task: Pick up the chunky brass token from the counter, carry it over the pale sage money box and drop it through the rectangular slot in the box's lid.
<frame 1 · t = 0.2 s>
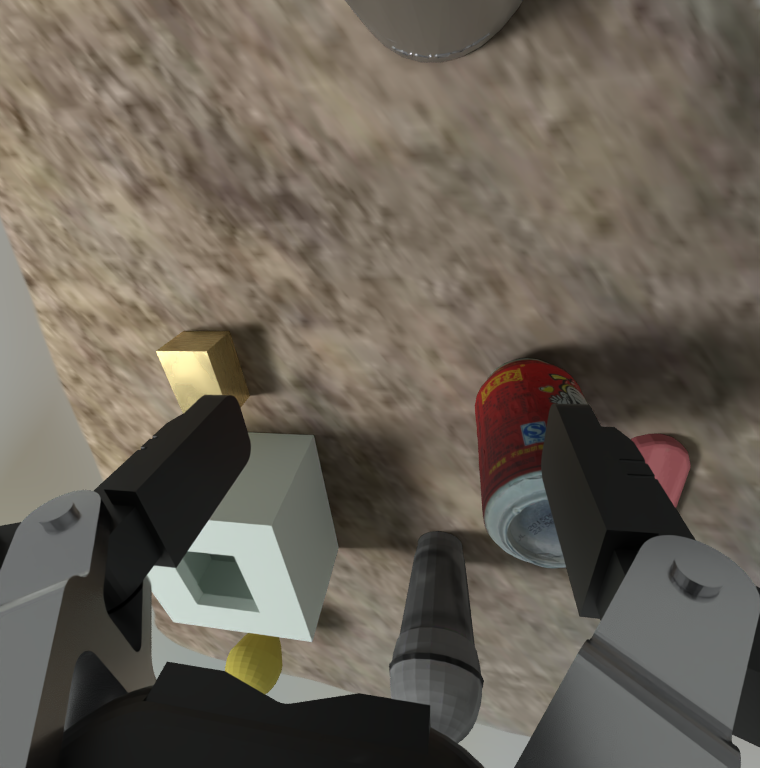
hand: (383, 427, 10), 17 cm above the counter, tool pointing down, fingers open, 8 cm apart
money box: (261, 492, 40), on the counter
light bulb: (276, 607, 53), on the counter
popsicle: (630, 497, 33), on the counter
beverage cup: (439, 543, 40), on the counter
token: (218, 363, 32), on the counter
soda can: (522, 390, 29), on the counter
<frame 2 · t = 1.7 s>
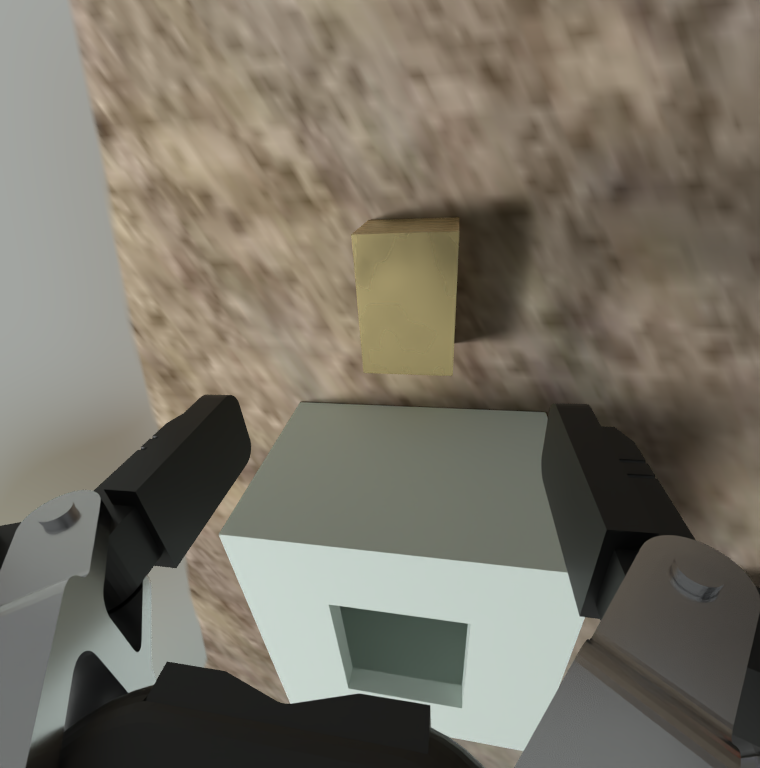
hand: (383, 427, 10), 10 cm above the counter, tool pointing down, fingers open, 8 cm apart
money box: (418, 504, 26), on the counter
beverage cup: (684, 586, 26), on the counter
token: (413, 284, 19), on the counter
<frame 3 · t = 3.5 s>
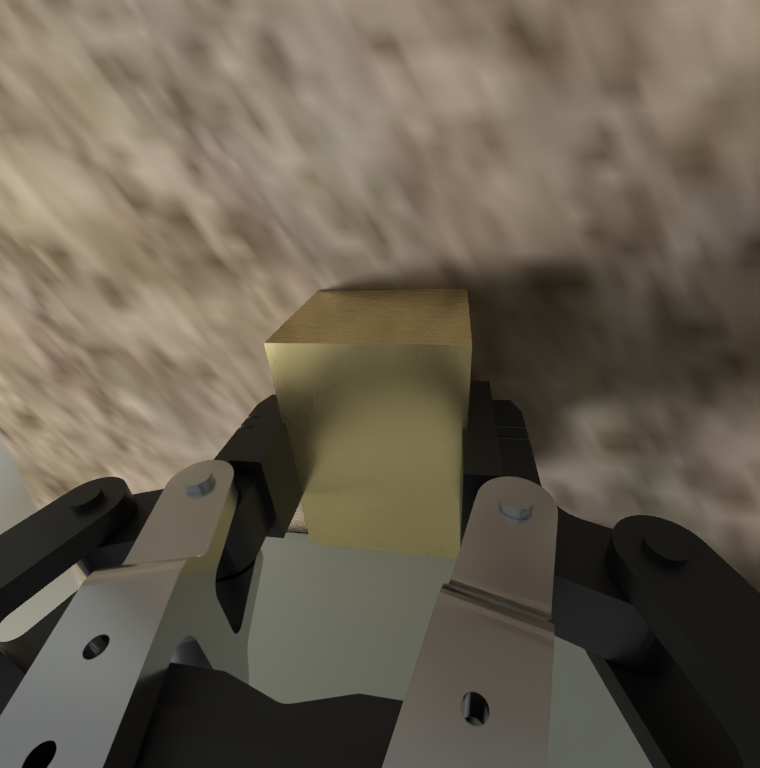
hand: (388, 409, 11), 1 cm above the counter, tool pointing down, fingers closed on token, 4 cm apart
money box: (412, 649, 19), on the counter
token: (394, 386, 12), on the counter, touching gripper
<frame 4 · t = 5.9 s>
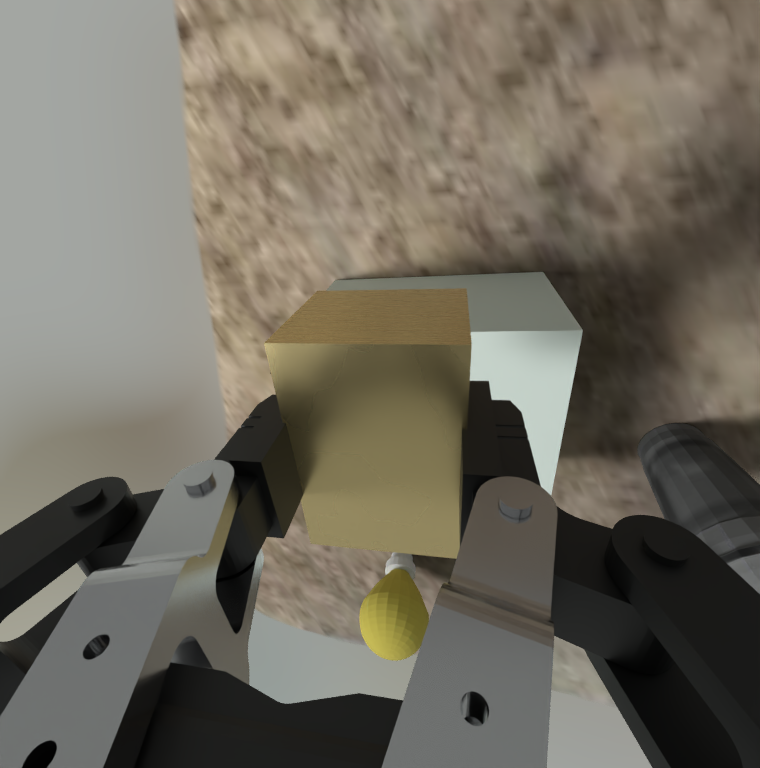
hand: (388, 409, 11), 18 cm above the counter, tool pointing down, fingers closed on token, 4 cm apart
money box: (435, 377, 30), on the counter
light bulb: (402, 554, 43), on the counter
beverage cup: (669, 444, 30), on the counter
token: (394, 387, 12), point 17 cm above the counter, touching gripper
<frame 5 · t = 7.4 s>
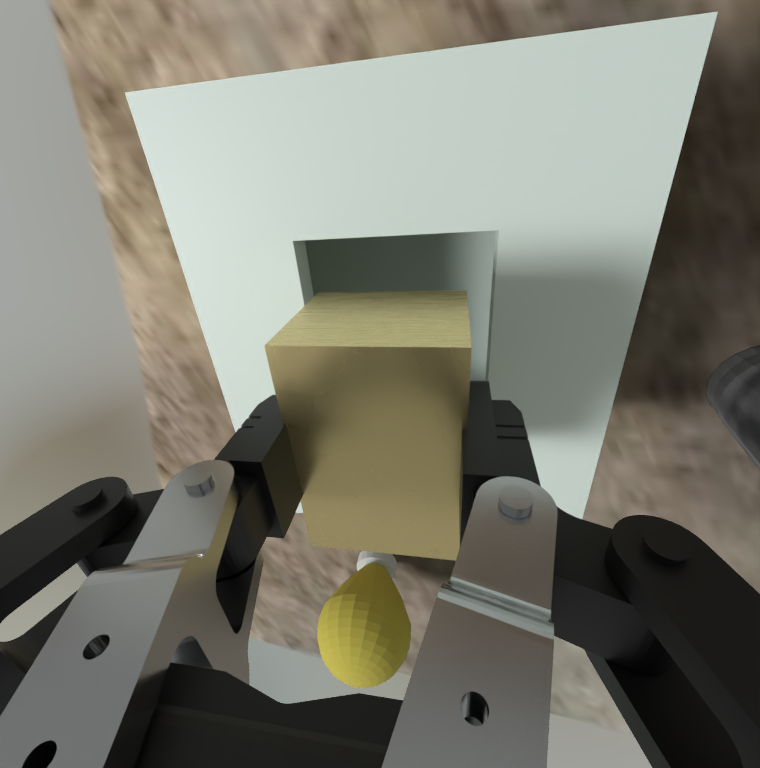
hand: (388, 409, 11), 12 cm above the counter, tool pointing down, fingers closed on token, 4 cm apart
money box: (419, 282, 21), on the counter
light bulb: (380, 546, 34), on the counter
beverage cup: (752, 380, 21), on the counter
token: (394, 388, 12), point 11 cm above the counter, touching gripper
when the fingers open (12 cm above the counter, at t = 8.6 s): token drops 7 cm, resting on money box.
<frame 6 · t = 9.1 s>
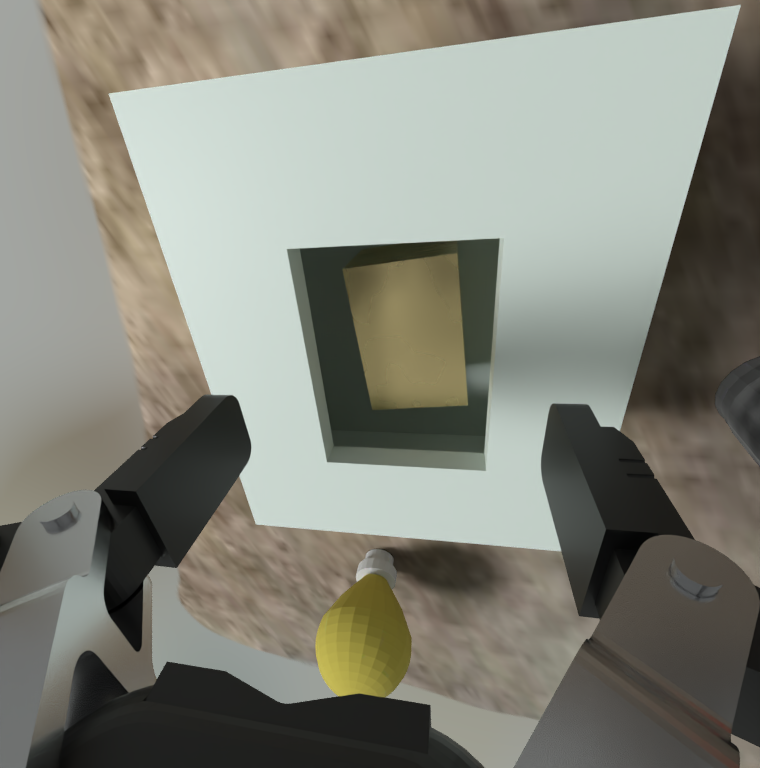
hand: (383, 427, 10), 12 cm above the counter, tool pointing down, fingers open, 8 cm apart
money box: (420, 288, 21), on the counter
light bulb: (380, 556, 33), on the counter
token: (417, 310, 18), point 3 cm above the counter, touching money box
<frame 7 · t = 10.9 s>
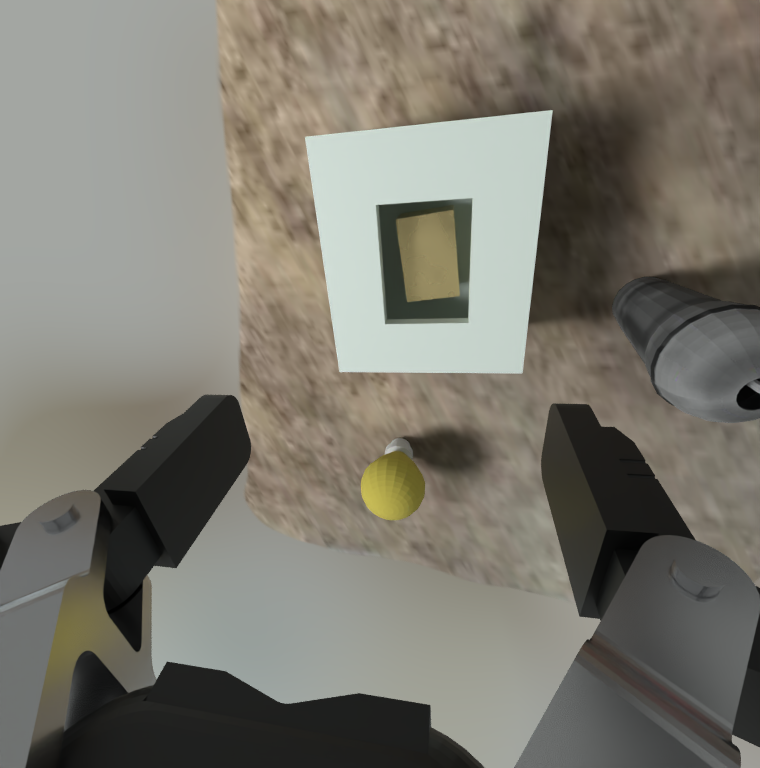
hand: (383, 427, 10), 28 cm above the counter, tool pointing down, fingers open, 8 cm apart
money box: (431, 241, 34), on the counter
light bulb: (400, 444, 46), on the counter
beverage cup: (639, 301, 34), on the counter
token: (431, 249, 31), point 3 cm above the counter, touching money box
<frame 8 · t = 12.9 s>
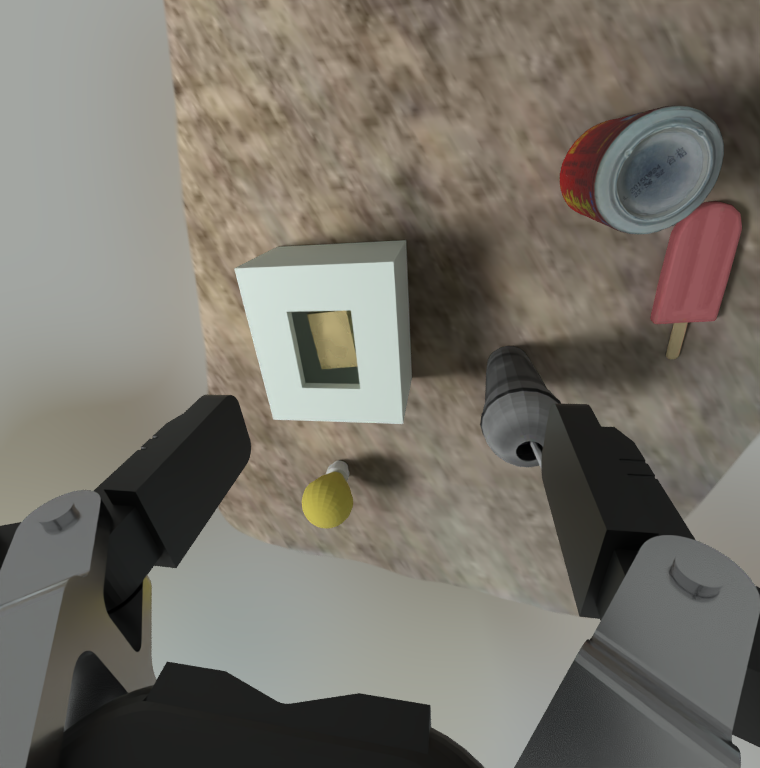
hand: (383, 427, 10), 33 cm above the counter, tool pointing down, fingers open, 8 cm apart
money box: (348, 316, 44), on the counter
light bulb: (340, 465, 57), on the counter
popsicle: (684, 285, 38), on the counter
beverage cup: (507, 363, 44), on the counter
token: (342, 327, 41), point 3 cm above the counter, touching money box
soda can: (597, 169, 34), on the counter
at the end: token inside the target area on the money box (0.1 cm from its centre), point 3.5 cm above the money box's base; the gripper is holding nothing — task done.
